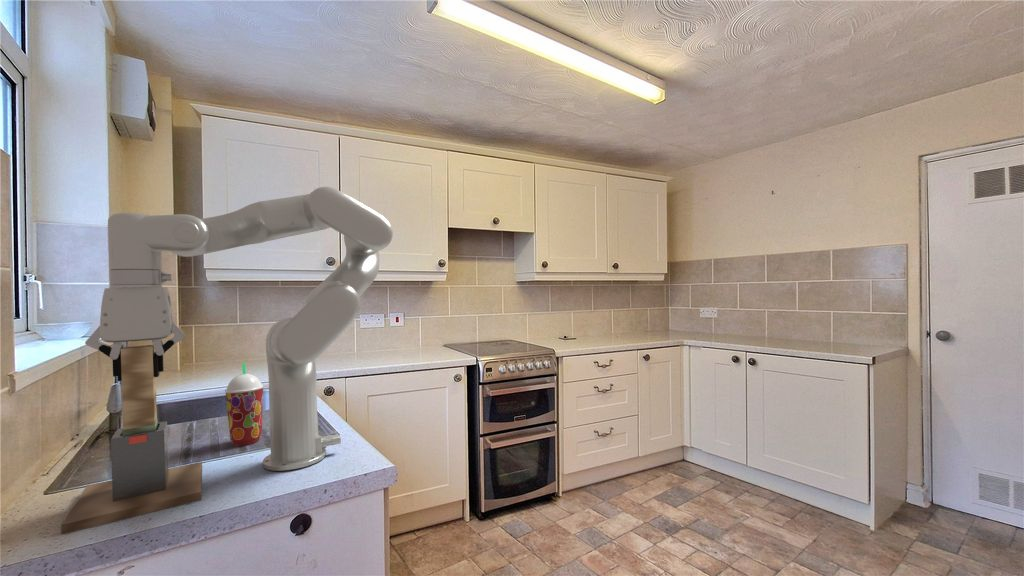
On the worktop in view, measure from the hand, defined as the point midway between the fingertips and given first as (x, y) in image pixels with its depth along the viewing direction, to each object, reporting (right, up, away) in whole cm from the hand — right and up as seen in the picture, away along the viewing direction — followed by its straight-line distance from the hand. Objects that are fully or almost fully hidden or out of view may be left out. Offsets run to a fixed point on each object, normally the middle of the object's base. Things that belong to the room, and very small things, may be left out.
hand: (139, 377), depth 82 cm
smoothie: (+2, -23, +29) cm, 37 cm away
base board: (+1, -22, 0) cm, 22 cm away
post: (0, -12, 0) cm, 12 cm away
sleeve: (+1, -21, 0) cm, 21 cm away
